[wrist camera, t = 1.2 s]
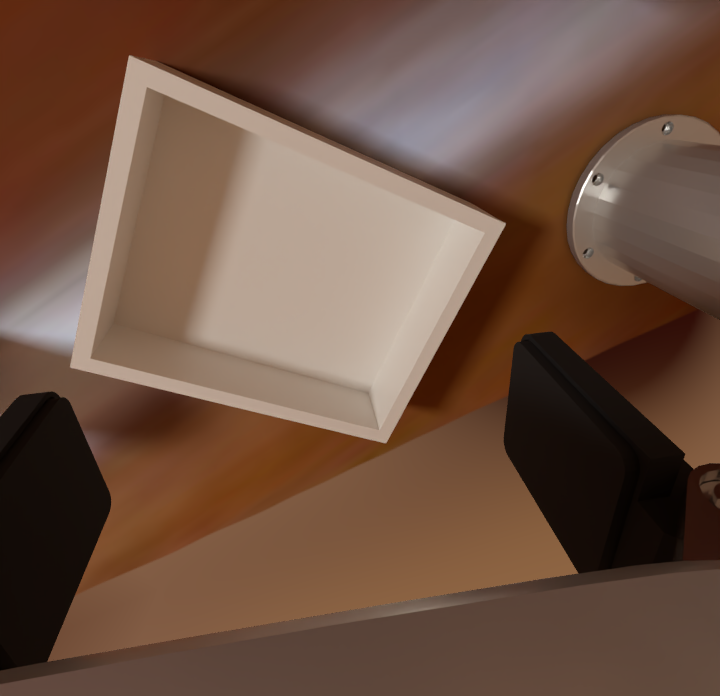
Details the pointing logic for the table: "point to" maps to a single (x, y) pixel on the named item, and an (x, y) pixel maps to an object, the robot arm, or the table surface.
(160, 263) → the tote
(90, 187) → the table surface
